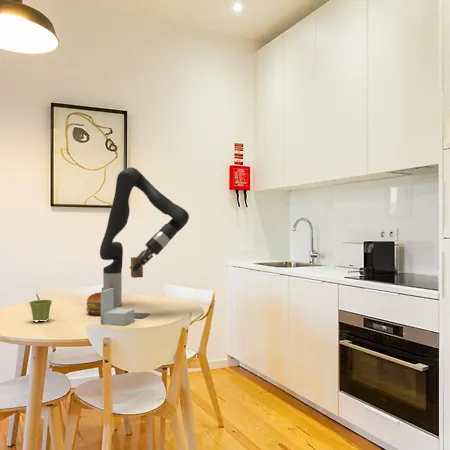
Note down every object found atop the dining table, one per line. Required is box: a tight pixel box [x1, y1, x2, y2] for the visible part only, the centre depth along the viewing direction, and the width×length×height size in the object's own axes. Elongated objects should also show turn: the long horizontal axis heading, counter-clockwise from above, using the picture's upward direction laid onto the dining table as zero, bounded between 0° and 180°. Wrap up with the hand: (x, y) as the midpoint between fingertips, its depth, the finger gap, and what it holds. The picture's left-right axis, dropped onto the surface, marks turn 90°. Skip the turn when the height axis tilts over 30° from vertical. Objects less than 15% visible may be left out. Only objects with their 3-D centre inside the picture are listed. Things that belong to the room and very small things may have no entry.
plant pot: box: [28, 299, 53, 321], centre depth 197 cm, size 9×9×9 cm
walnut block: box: [130, 256, 144, 279], centre depth 207 cm, size 4×4×9 cm
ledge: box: [100, 288, 135, 326], centre depth 196 cm, size 11×10×14 cm
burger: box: [86, 292, 116, 316], centre depth 214 cm, size 13×14×10 cm
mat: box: [134, 312, 151, 319], centre depth 208 cm, size 9×9×1 cm
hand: (132, 269), depth 207 cm, fingers closed on walnut block, 4 cm apart
